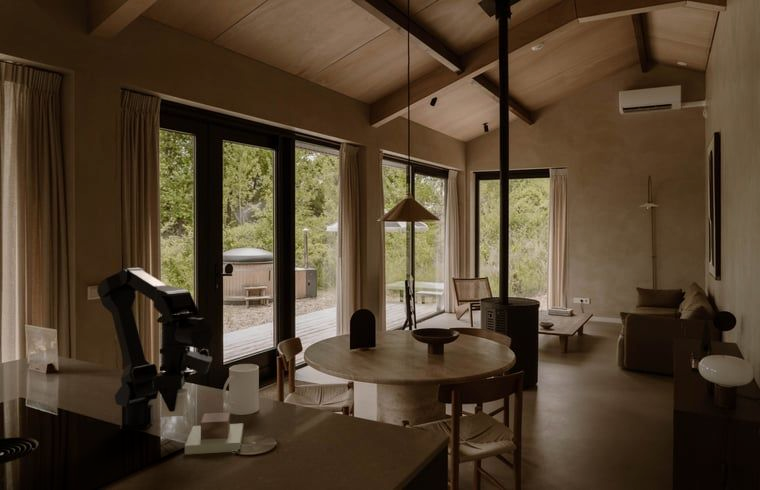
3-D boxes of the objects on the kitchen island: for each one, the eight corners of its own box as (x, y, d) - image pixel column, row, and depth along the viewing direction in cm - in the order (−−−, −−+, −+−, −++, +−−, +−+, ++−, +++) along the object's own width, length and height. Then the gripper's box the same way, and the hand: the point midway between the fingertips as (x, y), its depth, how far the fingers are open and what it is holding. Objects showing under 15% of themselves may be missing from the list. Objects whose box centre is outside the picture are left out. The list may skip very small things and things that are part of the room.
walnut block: (200, 439, 122) (200, 422, 122) (204, 429, 128) (204, 413, 128) (227, 438, 123) (227, 421, 123) (229, 428, 129) (229, 412, 129)
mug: (232, 420, 140) (232, 375, 139) (211, 413, 144) (212, 370, 144) (265, 408, 149) (266, 366, 149) (245, 402, 154) (245, 362, 154)
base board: (184, 454, 118) (184, 445, 118) (193, 434, 130) (193, 426, 130) (239, 451, 121) (239, 442, 121) (243, 431, 132) (243, 423, 132)
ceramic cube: (160, 417, 123) (161, 395, 123) (165, 409, 128) (165, 389, 128) (183, 415, 124) (183, 394, 124) (187, 408, 129) (187, 388, 129)
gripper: (204, 350, 118) (204, 419, 119) (214, 334, 136) (213, 394, 137) (151, 352, 116) (151, 422, 116) (168, 335, 134) (168, 396, 135)
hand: (174, 407), depth 126 cm, fingers closed on ceramic cube, 5 cm apart
